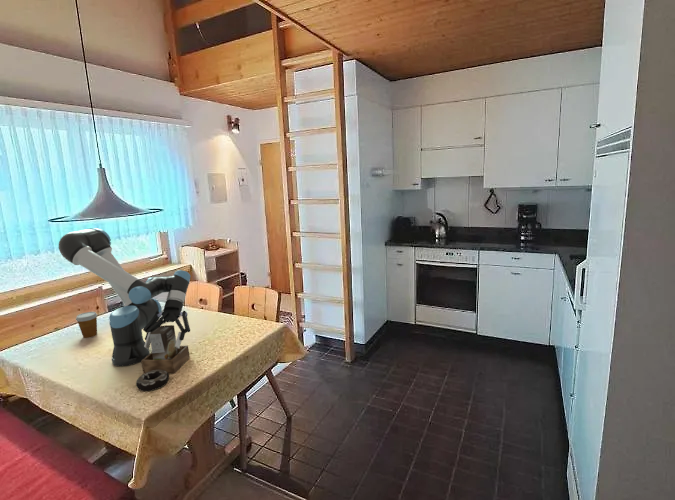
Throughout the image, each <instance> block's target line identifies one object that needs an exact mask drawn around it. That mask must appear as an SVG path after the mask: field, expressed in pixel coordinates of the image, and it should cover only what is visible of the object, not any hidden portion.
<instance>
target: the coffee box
mask: <svg viewBox="0 0 675 500" xmlns="http://www.w3.org/2000/svg"><path fill="white" fill-rule="evenodd" d="M176 340H177V338H176V331H175V325H174V324H172V325H171V324H170V325H169V324H168V325H167V324H166V325H161V326H160V327H158V328H157V329H155V330H154V331H153V332H151V333H150V341H151V344H150V347H151V348H150V349H151V352H152V355H153V360H172V359H173V358H174V357H175V356H176V355H177V354H178V352H177V348H176V347H175V344H176Z"/></svg>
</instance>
